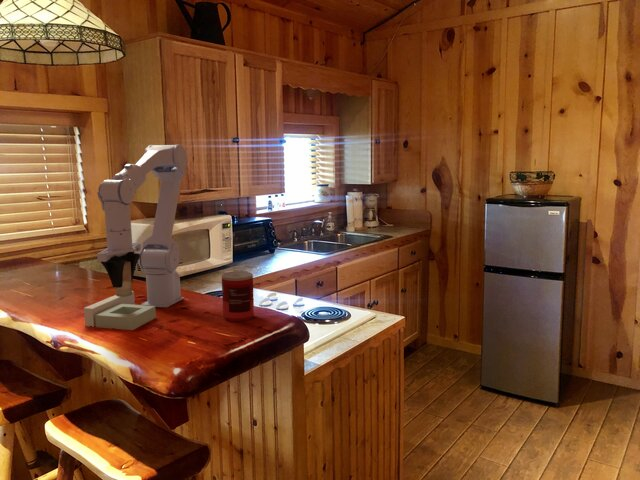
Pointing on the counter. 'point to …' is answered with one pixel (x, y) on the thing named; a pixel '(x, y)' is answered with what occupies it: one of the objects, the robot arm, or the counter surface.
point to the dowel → (125, 282)
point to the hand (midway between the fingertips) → (122, 285)
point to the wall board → (105, 307)
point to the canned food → (237, 296)
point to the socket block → (125, 316)
